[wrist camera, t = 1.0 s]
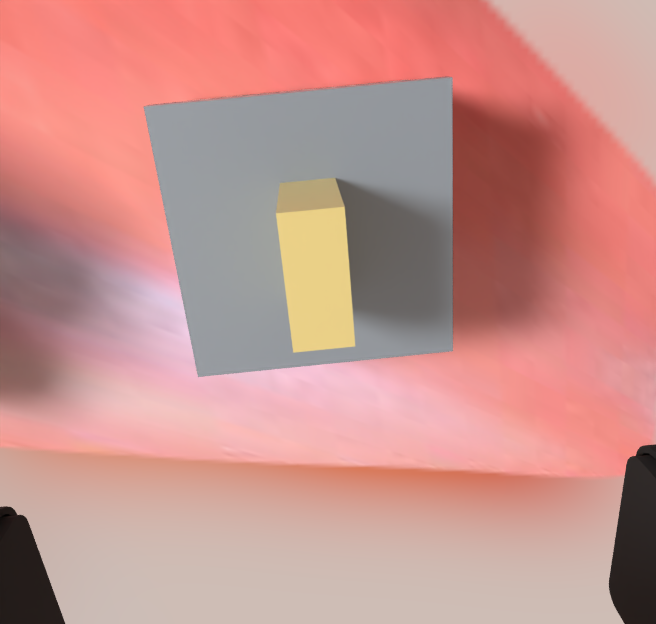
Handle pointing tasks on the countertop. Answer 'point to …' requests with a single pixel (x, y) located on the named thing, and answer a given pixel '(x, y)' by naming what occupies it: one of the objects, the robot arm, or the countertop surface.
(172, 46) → the countertop surface
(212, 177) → the lid
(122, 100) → the countertop surface
